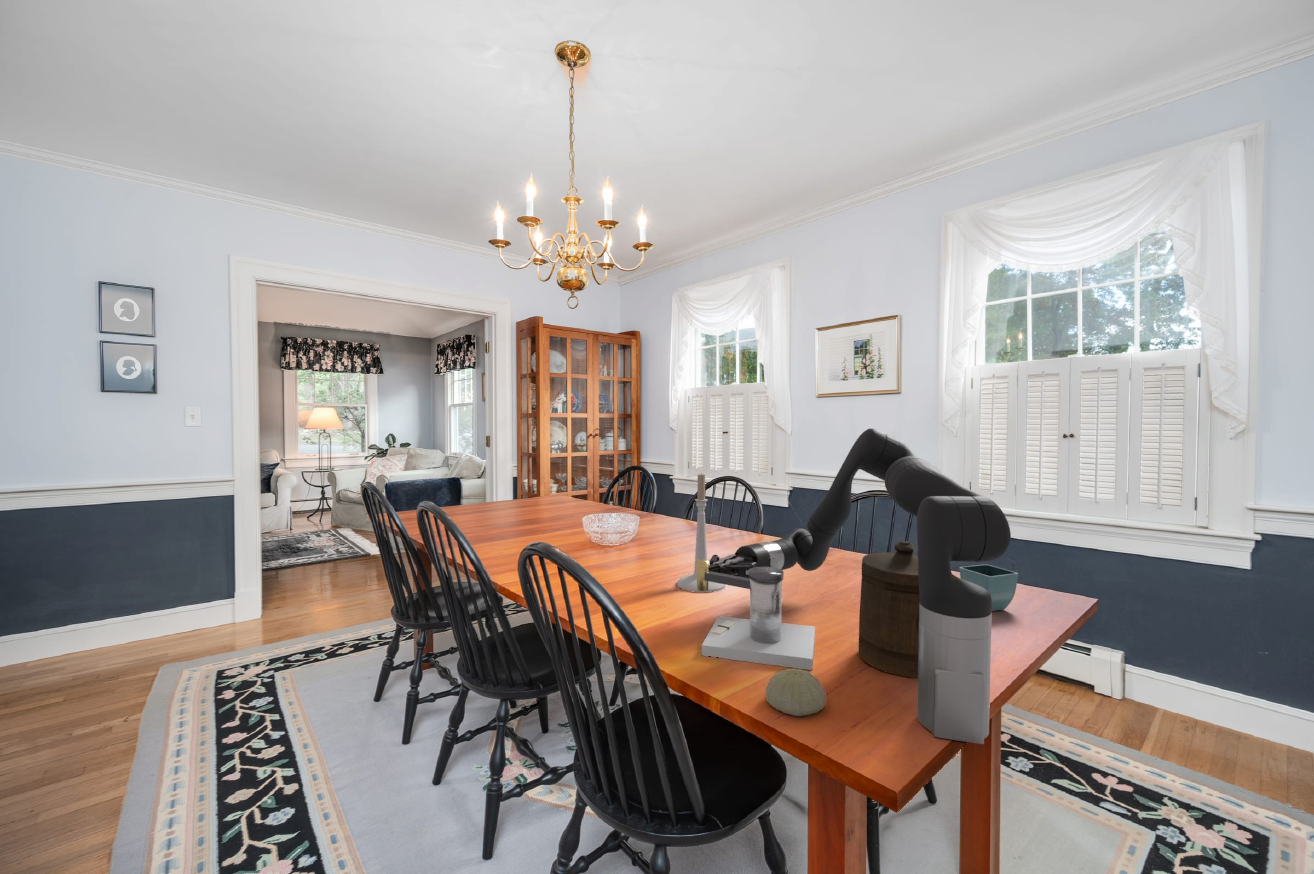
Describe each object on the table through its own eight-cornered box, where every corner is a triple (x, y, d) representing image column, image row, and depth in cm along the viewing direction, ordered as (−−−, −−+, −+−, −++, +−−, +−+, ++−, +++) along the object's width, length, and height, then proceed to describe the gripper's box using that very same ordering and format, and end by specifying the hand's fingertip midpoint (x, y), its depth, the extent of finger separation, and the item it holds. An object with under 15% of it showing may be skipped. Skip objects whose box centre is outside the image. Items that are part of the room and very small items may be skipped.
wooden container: (948, 685, 93) (952, 555, 92) (854, 668, 99) (857, 546, 98) (944, 650, 107) (948, 536, 105) (862, 637, 113) (864, 529, 112)
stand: (812, 670, 99) (812, 656, 99) (701, 655, 105) (701, 642, 105) (815, 636, 114) (815, 624, 114) (718, 625, 120) (718, 614, 120)
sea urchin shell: (750, 695, 86) (770, 648, 90) (770, 716, 90) (789, 670, 94) (803, 717, 80) (823, 665, 84) (822, 739, 84) (840, 689, 88)
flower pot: (957, 603, 134) (957, 566, 134) (985, 599, 137) (986, 563, 136) (988, 616, 126) (989, 576, 125) (1018, 611, 128) (1019, 573, 128)
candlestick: (700, 595, 140) (700, 476, 139) (667, 584, 150) (667, 472, 149) (735, 586, 148) (735, 473, 147) (701, 575, 158) (701, 469, 157)
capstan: (788, 634, 109) (788, 570, 108) (774, 645, 103) (775, 578, 103) (705, 614, 119) (705, 556, 119) (689, 624, 114) (689, 563, 114)
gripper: (738, 538, 133) (682, 549, 122) (782, 548, 122) (725, 561, 112) (738, 569, 133) (682, 583, 123) (782, 582, 123) (725, 598, 112)
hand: (703, 572), depth 117 cm, fingers closed
